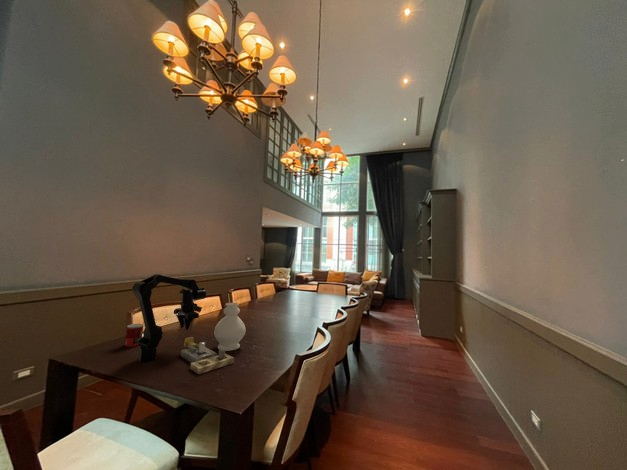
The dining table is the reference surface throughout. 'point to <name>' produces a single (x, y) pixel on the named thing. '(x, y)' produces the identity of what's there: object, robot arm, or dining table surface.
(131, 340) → the canned food
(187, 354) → the socket
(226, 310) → the decorative vase
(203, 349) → the grey rounded cylinder
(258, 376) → the dining table surface
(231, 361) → the rack
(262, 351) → the dining table surface
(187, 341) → the key
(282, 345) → the dining table surface
